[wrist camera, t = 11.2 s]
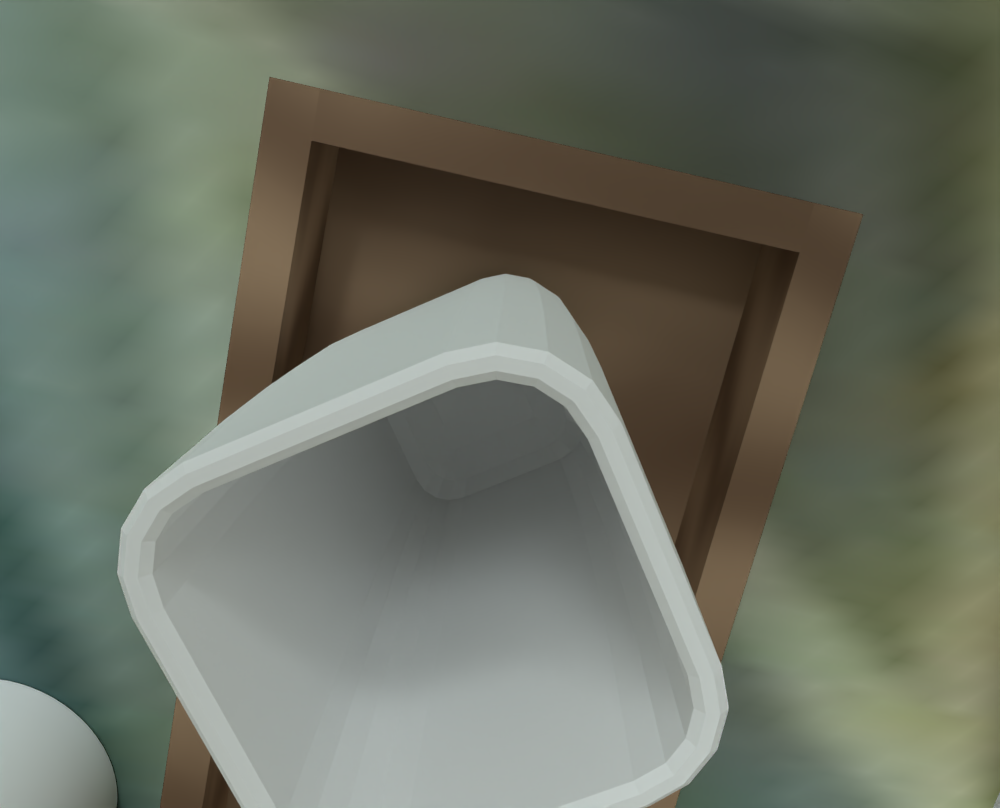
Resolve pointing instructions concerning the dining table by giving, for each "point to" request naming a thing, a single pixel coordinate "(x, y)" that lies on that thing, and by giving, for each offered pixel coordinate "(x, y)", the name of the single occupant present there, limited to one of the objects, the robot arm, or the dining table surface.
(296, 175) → the tray
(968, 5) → the dining table surface
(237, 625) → the cup
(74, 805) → the cup
